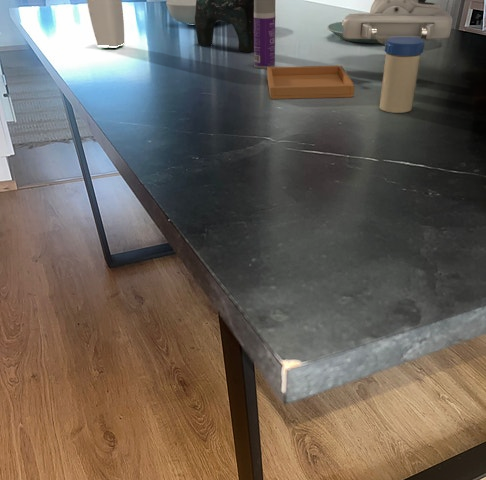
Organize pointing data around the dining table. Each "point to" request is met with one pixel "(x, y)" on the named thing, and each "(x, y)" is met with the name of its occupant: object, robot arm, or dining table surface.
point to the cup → (107, 21)
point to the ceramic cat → (226, 20)
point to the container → (264, 33)
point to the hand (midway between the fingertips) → (398, 33)
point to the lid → (404, 46)
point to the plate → (338, 30)
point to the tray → (309, 82)
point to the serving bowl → (183, 10)
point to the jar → (399, 83)
